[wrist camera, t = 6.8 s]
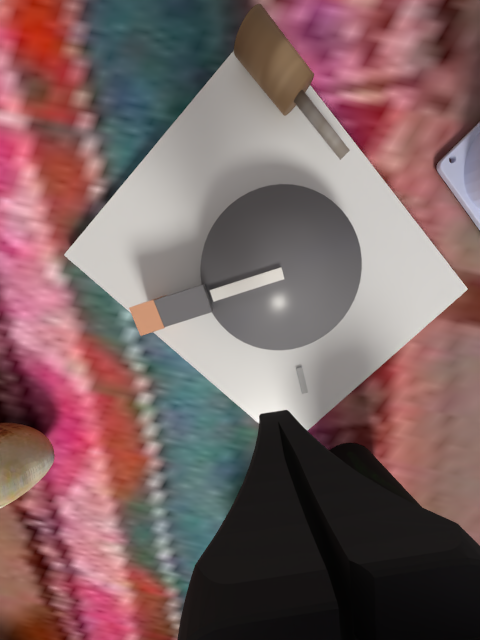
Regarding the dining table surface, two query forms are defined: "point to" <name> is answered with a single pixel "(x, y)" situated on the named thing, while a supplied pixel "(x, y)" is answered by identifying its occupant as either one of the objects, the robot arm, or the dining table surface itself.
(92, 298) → the dining table surface
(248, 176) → the board
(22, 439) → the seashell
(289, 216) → the grey handled disc
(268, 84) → the screwdriver
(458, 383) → the dining table surface
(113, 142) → the dining table surface
